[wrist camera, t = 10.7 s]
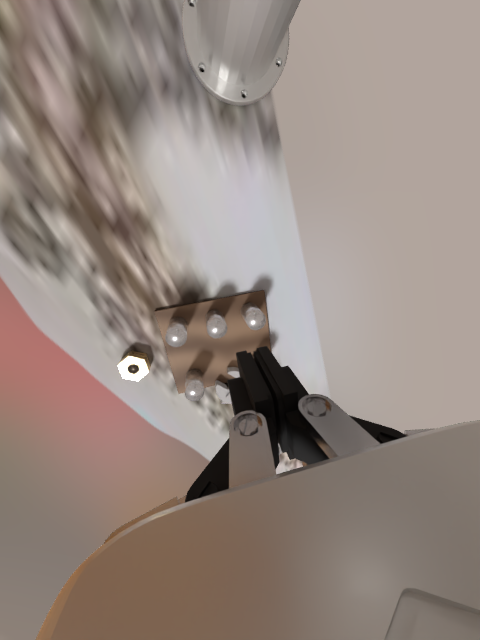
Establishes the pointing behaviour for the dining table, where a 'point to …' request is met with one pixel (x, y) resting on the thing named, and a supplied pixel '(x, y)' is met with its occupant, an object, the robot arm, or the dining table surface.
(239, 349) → the board
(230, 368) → the adjustable wrench
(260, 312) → the spacers
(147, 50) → the dining table surface
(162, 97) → the dining table surface
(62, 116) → the dining table surface
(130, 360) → the nut
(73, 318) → the dining table surface
